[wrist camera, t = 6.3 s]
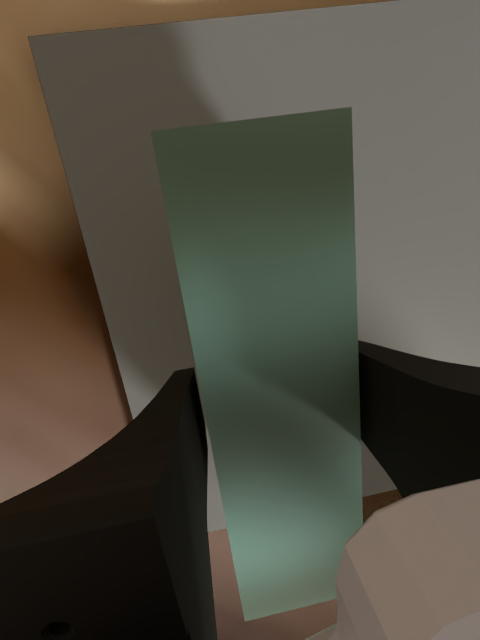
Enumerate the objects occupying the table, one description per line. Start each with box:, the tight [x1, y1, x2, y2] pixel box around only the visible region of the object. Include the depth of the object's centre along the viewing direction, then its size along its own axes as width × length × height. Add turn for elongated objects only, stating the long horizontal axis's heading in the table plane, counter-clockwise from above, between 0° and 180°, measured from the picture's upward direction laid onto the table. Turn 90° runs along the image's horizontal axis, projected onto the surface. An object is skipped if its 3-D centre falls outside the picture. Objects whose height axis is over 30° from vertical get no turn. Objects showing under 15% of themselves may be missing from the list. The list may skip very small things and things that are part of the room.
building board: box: [28, 0, 480, 532], centre depth 16 cm, size 24×26×5 cm
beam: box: [151, 107, 363, 621], centre depth 11 cm, size 14×4×4 cm, turn 7°
